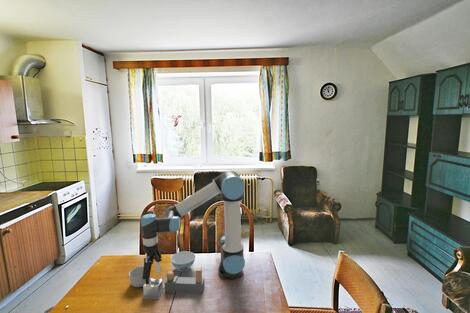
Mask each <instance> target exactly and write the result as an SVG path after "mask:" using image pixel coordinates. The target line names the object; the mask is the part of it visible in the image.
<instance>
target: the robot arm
mask: <svg viewBox="0 0 470 313" xmlns="http://www.w3.org/2000/svg"><path fill="white" fill-rule="evenodd" d="M244 193H245V182H244V181H243V179H242V178H241V177H240V175H239V174H238V173H237V172H236V171H234V170H227V171H225V172H222V173H221V174H220V175H218V176H217V177H215V178H213V179H212V182H210V183H208V184H207V185H206V186H204V187H203V188H201V189H199V190H198V191H196V192H195V193H193V194H191V195H189V196H188V197H186V198H185V199H183V200H181V201H180V202H178V203H177V204H175V205H173V206H170V207H168V208H167V209H166V210H165V213H164V216H163V217H157V216H156V214H154V213H147V214H144V215H142V216H141V217H140V223H141V225H140V226H141V235H142V237H141V239H142V244H143V245H142V246H143V248H142V249H143V252H144V253H145V254H146V257H144V258H143V265H144V268H143V278H142V279H145V285H146V289H151V288H152V287H151V279H152V278H151V270H152V266H153V264H154V266H155V273H156V274H161V273H162V268H161V262H162V260H163V259H162V258H163V256H162V254H161V251H160V250H159V248H160V247H159V235H158V233H172V232H173V233H174V232H178V231H180V229H181V218H182V217H183V216H185V215H186V214H188V213H190V212H192V211H193V210H194V209H196V208H198V207H199V206H201V205H204V203H206V202H208V201H209V200H211V199H212V198H214V197H215V196H217V195H219V194H221V195H220V196H221V201H222V202H223V204H224V208H223V209H224V210H223V213H224V235H223V236H221V238H220V261H219V266H218V270H217V273H218V275H219V277H220V278H222V279H225V280H236V279H238V278H240V277H242V275H243V274H244V272H243V271H244V268H245V267H246V266H245V265H246V261H245V258H244V256H245V254H244V244H243V243H241V242H242V240H241V239H242V238H241V235H242V234H241V229H242V228H241V226H242V225H241V202H242V201H244V200H243V199H244ZM154 261H155V262H154Z"/></svg>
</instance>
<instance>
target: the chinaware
mask: <svg viewBox="0 0 470 313" xmlns="http://www.w3.org/2000/svg"><path fill="white" fill-rule="evenodd" d="M195 259H196V255H195V253H194V252H192V251H190V250H189V251H187V250H183V251H178V252H175V253H174V254H172V256H171V257H170V261H171V264H172V266H173V267H174V268H175V269H176V270H178V271H179V272H187V271H188V270H189V269H190V268H191V267H192V266H193V264H194V263H195V261H196V260H195Z"/></svg>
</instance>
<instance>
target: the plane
mask: <svg viewBox="0 0 470 313" xmlns="http://www.w3.org/2000/svg"><path fill="white" fill-rule="evenodd" d="M194 272H195V273H194V274H195V277H185V276H178V275H175V274H174V271H171V270H170V271H167V273H166V278H165V281H164V292H174V293H175V292H177V293H181V292H182V293H197V294H198V293H201V294H202V293H203V292H204V288H205V277H203V269H202V267H195V270H194Z"/></svg>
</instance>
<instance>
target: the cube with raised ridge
mask: <svg viewBox="0 0 470 313" xmlns="http://www.w3.org/2000/svg"><path fill="white" fill-rule="evenodd" d="M163 285H164V284H163V279H162V278H151V287H152V288H151V289H146V285H145V284H144V286H142V287H143V288H142V289H143V296H144V297H159V295H160V294H161V292H162V290H163V288H164V286H163ZM163 291H164V290H163ZM162 293H163V292H162ZM161 295H162V294H161Z"/></svg>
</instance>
